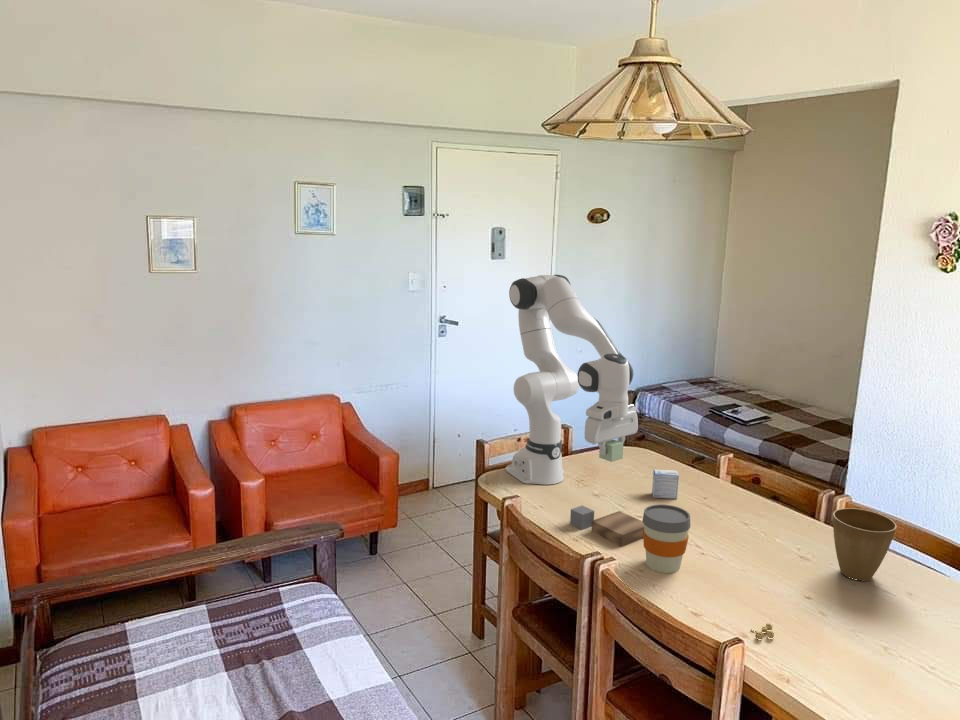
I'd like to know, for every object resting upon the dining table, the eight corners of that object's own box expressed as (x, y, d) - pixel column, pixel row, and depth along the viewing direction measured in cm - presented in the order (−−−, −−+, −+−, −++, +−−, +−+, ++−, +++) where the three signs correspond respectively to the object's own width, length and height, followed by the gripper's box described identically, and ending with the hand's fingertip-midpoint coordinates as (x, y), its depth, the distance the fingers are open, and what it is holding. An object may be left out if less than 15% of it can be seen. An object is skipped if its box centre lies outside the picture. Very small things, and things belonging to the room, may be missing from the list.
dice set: (770, 630, 172) (771, 623, 171) (778, 643, 167) (779, 636, 166) (748, 630, 172) (749, 622, 172) (755, 642, 167) (756, 635, 167)
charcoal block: (570, 524, 225) (570, 509, 224) (581, 520, 228) (582, 505, 227) (581, 530, 222) (582, 514, 220) (593, 526, 225) (594, 510, 224)
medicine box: (675, 494, 250) (677, 470, 248) (677, 499, 246) (679, 474, 244) (651, 493, 251) (653, 468, 249) (653, 498, 246) (655, 473, 245)
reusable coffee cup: (688, 558, 205) (692, 508, 202) (685, 579, 193) (689, 526, 190) (642, 551, 209) (646, 501, 206) (636, 571, 197) (640, 519, 194)
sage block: (599, 457, 226) (599, 441, 225) (610, 454, 229) (611, 438, 228) (611, 461, 222) (612, 446, 221) (622, 458, 225) (623, 443, 224)
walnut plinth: (591, 533, 221) (591, 520, 220) (618, 523, 228) (619, 510, 227) (621, 548, 211) (622, 535, 210) (649, 537, 218) (650, 524, 218)
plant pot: (864, 594, 187) (872, 535, 184) (814, 568, 200) (820, 513, 197) (900, 581, 194) (909, 524, 191) (850, 557, 207) (857, 503, 204)
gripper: (628, 401, 231) (626, 443, 234) (581, 411, 219) (580, 455, 222) (644, 405, 227) (641, 448, 229) (597, 415, 214) (595, 461, 217)
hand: (611, 452), depth 225 cm, fingers closed on sage block, 5 cm apart
